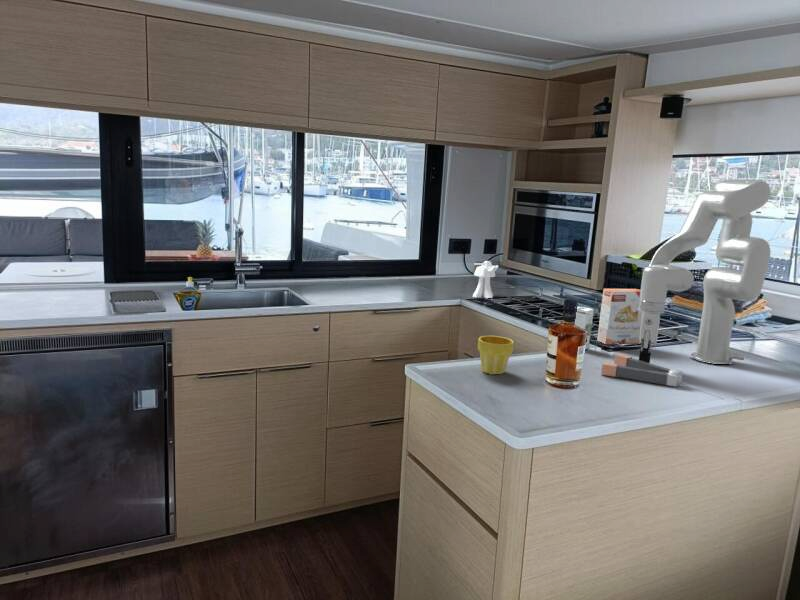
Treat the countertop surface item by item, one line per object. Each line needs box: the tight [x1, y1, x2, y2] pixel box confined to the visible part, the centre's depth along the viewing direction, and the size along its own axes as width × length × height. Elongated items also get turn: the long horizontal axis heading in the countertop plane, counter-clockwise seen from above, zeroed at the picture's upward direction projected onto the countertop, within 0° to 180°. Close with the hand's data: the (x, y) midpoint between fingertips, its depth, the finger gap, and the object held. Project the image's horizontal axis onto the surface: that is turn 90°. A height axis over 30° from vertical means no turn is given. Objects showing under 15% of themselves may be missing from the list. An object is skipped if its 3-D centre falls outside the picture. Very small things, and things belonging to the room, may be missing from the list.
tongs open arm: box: [614, 353, 672, 373], centre depth 183 cm, size 18×3×3 cm, turn 35°
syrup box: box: [575, 306, 595, 350], centre depth 207 cm, size 6×6×14 cm
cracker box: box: [596, 288, 642, 345], centre depth 212 cm, size 14×6×21 cm, turn 105°
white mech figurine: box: [472, 260, 500, 299], centre depth 300 cm, size 12×13×18 cm
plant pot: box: [477, 335, 514, 375], centre depth 177 cm, size 10×10×10 cm
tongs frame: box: [600, 361, 684, 388], centre depth 176 cm, size 22×5×4 cm, turn 65°
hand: (643, 363), depth 189 cm, fingers closed
